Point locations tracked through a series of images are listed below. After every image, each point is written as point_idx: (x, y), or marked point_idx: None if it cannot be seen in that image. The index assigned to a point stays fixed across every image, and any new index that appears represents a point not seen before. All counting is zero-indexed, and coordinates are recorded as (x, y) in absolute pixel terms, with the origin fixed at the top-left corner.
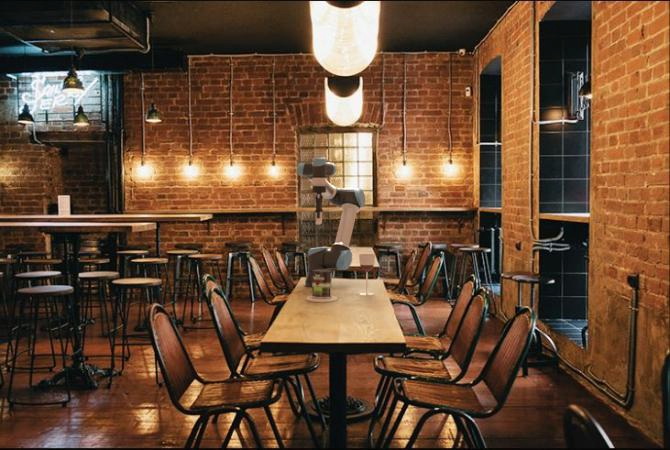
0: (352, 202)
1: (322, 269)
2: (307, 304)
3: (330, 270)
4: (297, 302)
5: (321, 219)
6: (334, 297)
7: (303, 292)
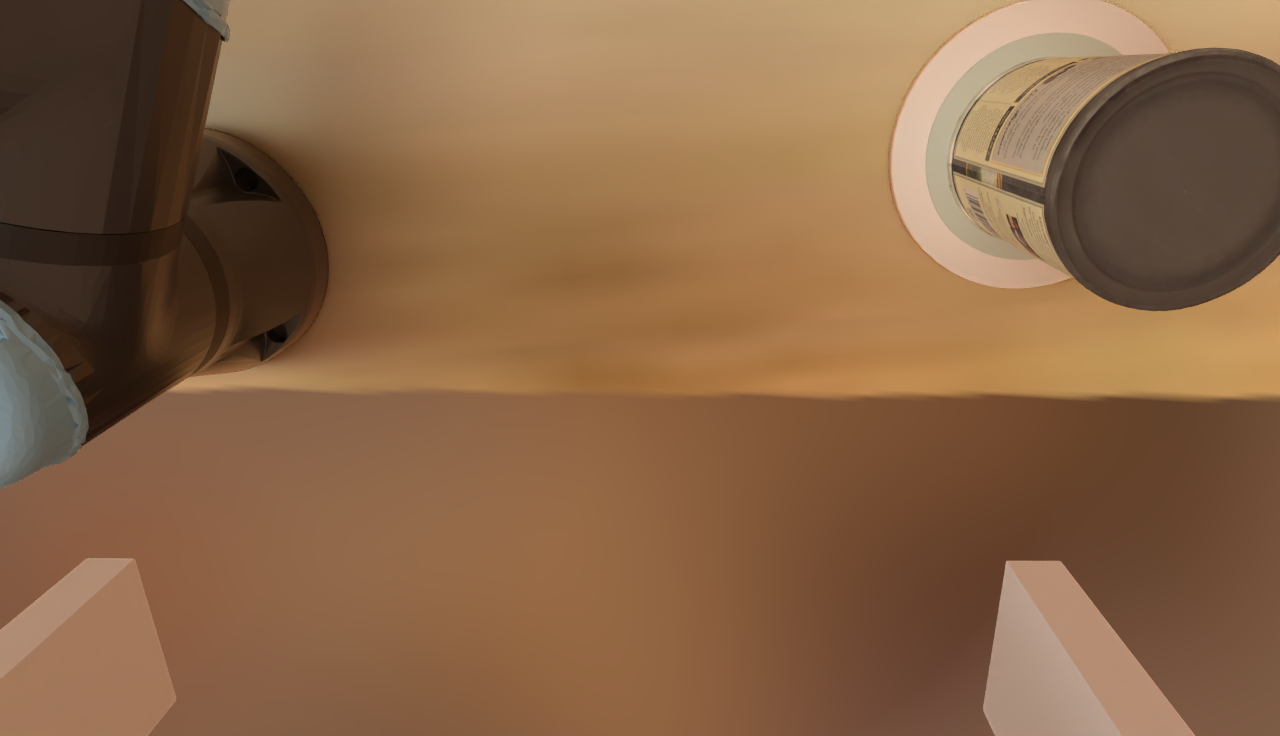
0: None
1: (1072, 190)
2: None
3: (1197, 71)
4: (1143, 344)
5: (27, 673)
6: (1048, 26)
7: (639, 341)
